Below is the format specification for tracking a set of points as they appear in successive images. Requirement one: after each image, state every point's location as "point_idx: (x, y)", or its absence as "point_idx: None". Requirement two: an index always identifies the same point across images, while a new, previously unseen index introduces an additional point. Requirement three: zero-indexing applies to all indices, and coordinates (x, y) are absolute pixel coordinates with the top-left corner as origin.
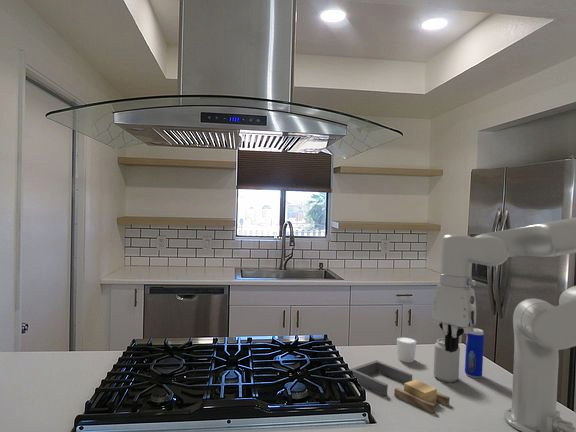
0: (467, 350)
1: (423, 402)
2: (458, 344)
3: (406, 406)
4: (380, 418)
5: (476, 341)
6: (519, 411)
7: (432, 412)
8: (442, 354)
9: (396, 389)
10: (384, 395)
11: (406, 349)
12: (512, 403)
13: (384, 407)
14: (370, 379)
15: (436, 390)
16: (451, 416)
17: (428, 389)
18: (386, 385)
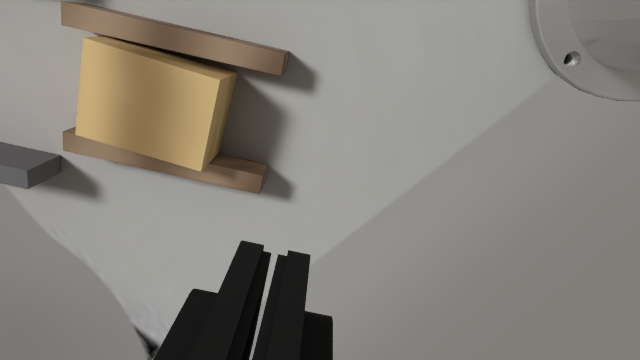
0: None
1: (216, 181)
2: (332, 347)
3: (168, 194)
4: (155, 321)
5: None
6: (632, 63)
7: (264, 182)
8: None
9: (73, 152)
10: (58, 172)
11: None
12: (610, 13)
13: (119, 253)
14: None
15: (221, 81)
16: (329, 154)
17: (193, 119)
18: (29, 177)
